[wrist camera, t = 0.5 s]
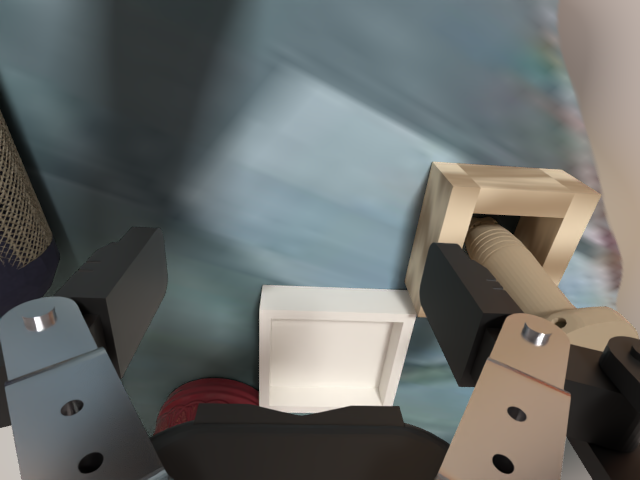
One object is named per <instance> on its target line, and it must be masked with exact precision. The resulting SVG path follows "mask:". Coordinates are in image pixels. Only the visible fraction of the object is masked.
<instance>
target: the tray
mask: <svg viewBox="0 0 640 480" xmlns="http://www.w3.org/2000/svg"><path fill="white" fill-rule="evenodd" d="M416 315H417V314H416V311H415V308H414V306H413V303H412V301H411V298H410V295H409V293H408V290H389V289H362V288H334V287H306V286H279V285H263V286H262V294H261V301H260V309H259V406H260V407H265V408H269V409H273V410H277V411H281V412H290V413H319V412H324V411H328V410H333V409H338V408H342V407H347V406H351V405H353V406H392V405H393V401H394V398H395V394H396V390H397V386H398V383H399V379H400V375H401V371H402V368H403V364H404V360H405V356H406V353H407V349H408V345H409V341H410V338H411V334H412V330H413V326H414V323H415V319H416Z"/></svg>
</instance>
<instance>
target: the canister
mask: <svg viewBox="0 0 640 480" xmlns="http://www.w3.org/2000/svg"><path fill="white" fill-rule="evenodd" d="M199 403H221V404H252V405H256V406H259V391H257V390H256V389H254V388H253V387H251V386H249V385H247V384H244V383H241V382H238V381H235V380H230V379H223V378H206V379H199V380H195V381H191V382H188V383H186V384H183V385H182V386H180V387H178V388H177V389H175V390H174V391H173V392H172V393H171V394H170V395H169V396H168V398H167V400H166V402H165V403H164V404H163V406H162V408H161V409H160V412H159V415H158V417H157V420H156V429H155V432H154V434H153V435H155V434H157V433H159V432H161V431H163V430H165V429H168V428H170V427H172V426H175V425H178V424H181V423H184V422H188V421H192V420H195V416H196V412H197V408H198V405H199Z"/></svg>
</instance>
